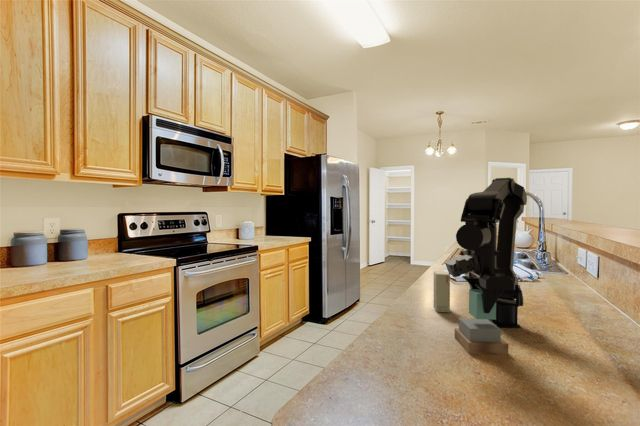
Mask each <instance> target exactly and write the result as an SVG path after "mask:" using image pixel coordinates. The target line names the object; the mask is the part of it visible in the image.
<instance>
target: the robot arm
mask: <svg viewBox="0 0 640 426" xmlns="http://www.w3.org/2000/svg"><path fill="white" fill-rule="evenodd" d="M527 202H528V197H527V191H526V189H525V187H524V186H523V185H521V184H519V183H517V182H515V179H514V178H512V177H499V178H498V177H496V178H494V179H492V181H491V183H490V184H489V185H488V186H487V187H486V188H485V189H484V190H483V191H480V192H473V193H471V194H469V195H468V198H466V200H465V202H464V206H463V209H462V213H461V217H460V222H461V223H464V224H463V225H461V226H460V227H459V228H458V230H457V231H456V234H455V239H456V242H457V244H458V246H460V247H461V248H462V249H464V250H465V254H464V255H461V256H456V257H454V258H452V259H449V260H446V261H444V264H445V267H446V269H447V270H446V271H447V272H448V273H449V274H450V276H452V277H453V278H458V277H461V278H462V279H463V280H464V281H466V283H468V285H469V287H470V288H469V289H480V290H481V294H482V302H483V309H484V313H490V311H491V309H492V308H493V306H494V304H495V303H496V320H495V319H488V320H489V321H491V322H492V323H493V324H494V325H496V326H497V327H498V328H521V327H522V326H521V325H520V324H519V323H518V316H519V315H518V314H519V313H518V311H519V310H518V308H519V307H523V306H524V294H523V290H522V289H521V286H520V284H519V281H520V280H519V278H518V276H517V274H516V273H515V271H514V260H515V259H514V257H515V246H516V245H515V244H516V232H517V220H518V219H519V218H520V217H521V215H523V213H524V211H525V206H526V205H527ZM497 225H498V227H497Z"/></svg>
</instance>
